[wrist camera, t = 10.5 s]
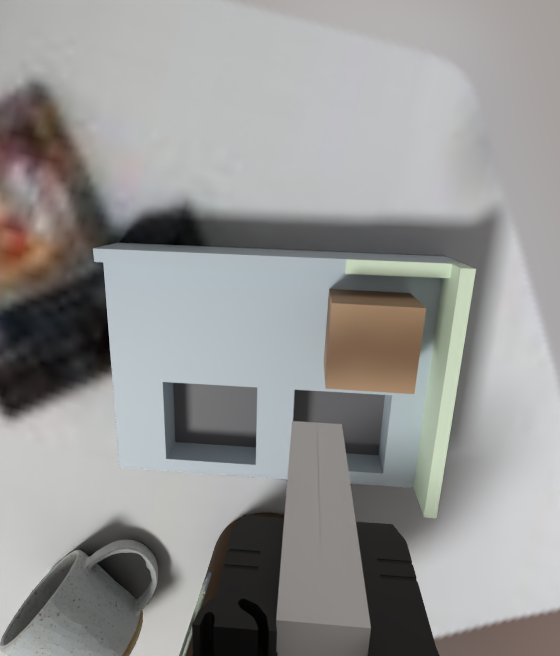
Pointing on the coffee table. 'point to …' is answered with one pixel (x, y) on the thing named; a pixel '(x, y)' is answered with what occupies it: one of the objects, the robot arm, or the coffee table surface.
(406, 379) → the brown block
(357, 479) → the board
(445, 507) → the coffee table surface
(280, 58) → the coffee table surface
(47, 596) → the ceramic mug
